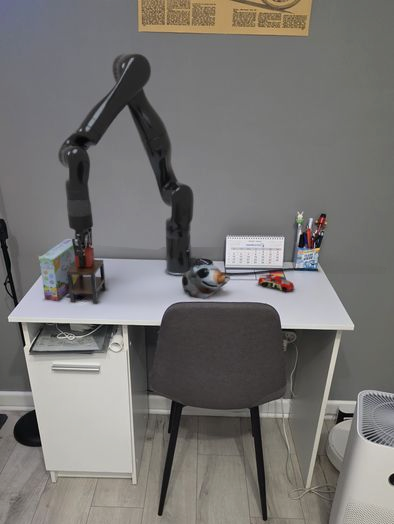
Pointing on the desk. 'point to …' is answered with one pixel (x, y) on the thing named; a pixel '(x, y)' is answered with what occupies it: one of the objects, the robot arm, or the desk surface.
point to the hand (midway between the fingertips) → (85, 263)
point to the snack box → (57, 270)
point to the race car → (275, 282)
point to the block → (89, 257)
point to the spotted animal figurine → (203, 281)
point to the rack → (86, 280)
